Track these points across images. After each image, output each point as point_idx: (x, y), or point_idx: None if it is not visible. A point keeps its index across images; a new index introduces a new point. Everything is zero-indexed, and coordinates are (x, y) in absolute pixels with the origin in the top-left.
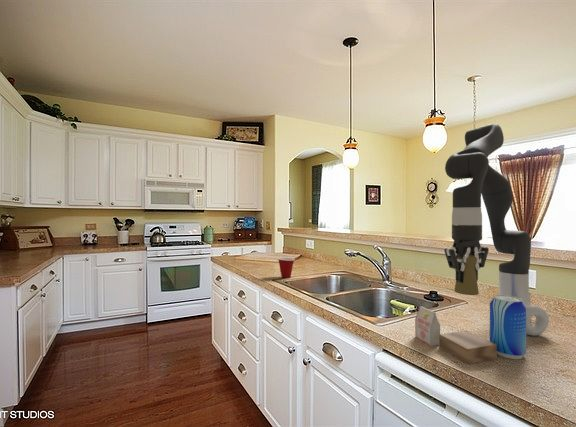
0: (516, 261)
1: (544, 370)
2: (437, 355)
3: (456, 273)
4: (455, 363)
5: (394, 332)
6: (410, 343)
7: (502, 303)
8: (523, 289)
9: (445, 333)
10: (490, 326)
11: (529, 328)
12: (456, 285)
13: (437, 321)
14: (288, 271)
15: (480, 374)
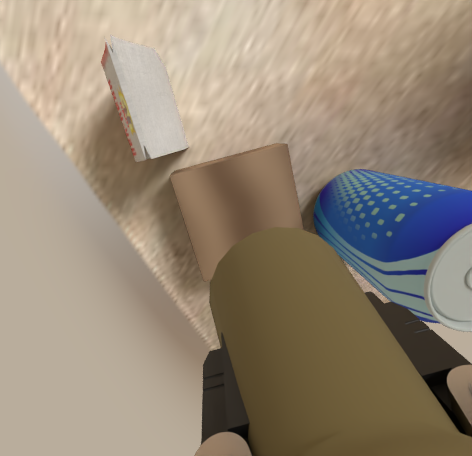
0: None
1: (361, 287)
2: (146, 219)
3: (205, 427)
4: (175, 261)
5: (50, 26)
6: (89, 136)
7: (415, 304)
8: None
9: (196, 168)
10: (343, 215)
11: None
12: (217, 316)
13: (170, 151)
14: None
15: (207, 306)
